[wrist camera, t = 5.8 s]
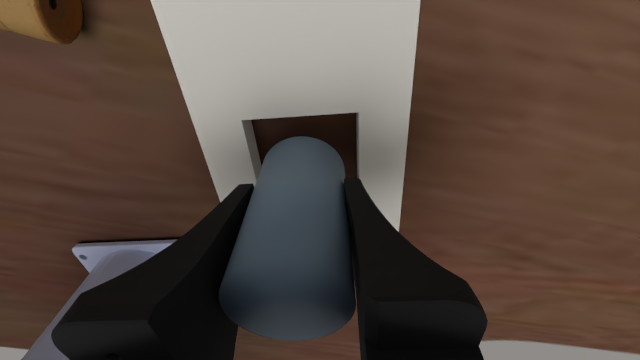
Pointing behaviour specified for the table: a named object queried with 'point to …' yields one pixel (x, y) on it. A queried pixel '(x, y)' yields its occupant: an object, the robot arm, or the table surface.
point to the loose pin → (293, 247)
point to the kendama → (43, 19)
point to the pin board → (296, 78)
